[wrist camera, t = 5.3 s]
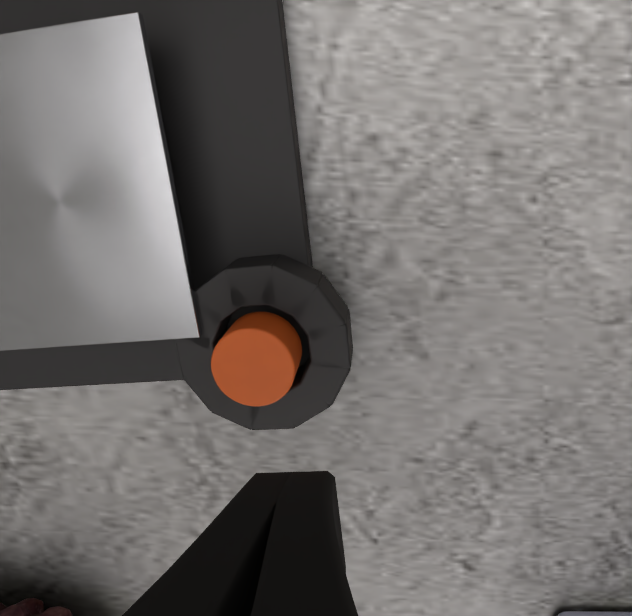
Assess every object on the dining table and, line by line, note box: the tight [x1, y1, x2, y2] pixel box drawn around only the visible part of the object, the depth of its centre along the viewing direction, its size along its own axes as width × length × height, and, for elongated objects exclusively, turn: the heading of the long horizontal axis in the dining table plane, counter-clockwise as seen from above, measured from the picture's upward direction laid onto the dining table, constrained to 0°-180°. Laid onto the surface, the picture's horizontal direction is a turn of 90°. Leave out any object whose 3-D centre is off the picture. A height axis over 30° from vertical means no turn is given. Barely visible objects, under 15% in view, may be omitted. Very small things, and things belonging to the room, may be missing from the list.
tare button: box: [211, 312, 302, 406], centre depth 14 cm, size 2×2×2 cm
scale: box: [0, 0, 353, 430], centre depth 15 cm, size 14×14×2 cm
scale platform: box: [0, 12, 203, 351], centre depth 14 cm, size 7×9×1 cm
